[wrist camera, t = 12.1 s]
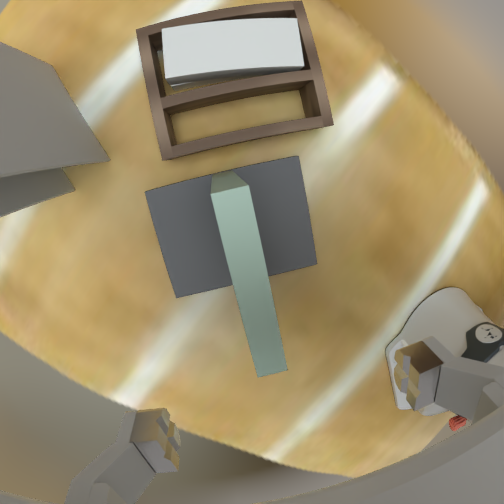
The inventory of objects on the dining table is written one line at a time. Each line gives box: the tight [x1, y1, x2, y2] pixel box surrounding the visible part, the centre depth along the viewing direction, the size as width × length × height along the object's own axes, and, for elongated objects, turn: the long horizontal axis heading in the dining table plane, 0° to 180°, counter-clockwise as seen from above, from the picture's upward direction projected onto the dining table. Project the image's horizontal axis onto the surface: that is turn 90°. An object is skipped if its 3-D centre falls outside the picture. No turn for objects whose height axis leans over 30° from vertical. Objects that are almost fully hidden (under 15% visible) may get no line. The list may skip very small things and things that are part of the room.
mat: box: [145, 156, 317, 298], centre depth 34 cm, size 12×16×1 cm
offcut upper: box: [162, 18, 304, 85], centre depth 25 cm, size 5×12×3 cm, turn 96°
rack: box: [136, 1, 334, 161], centre depth 27 cm, size 13×16×5 cm
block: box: [211, 170, 288, 377], centre depth 26 cm, size 2×12×16 cm, turn 12°
